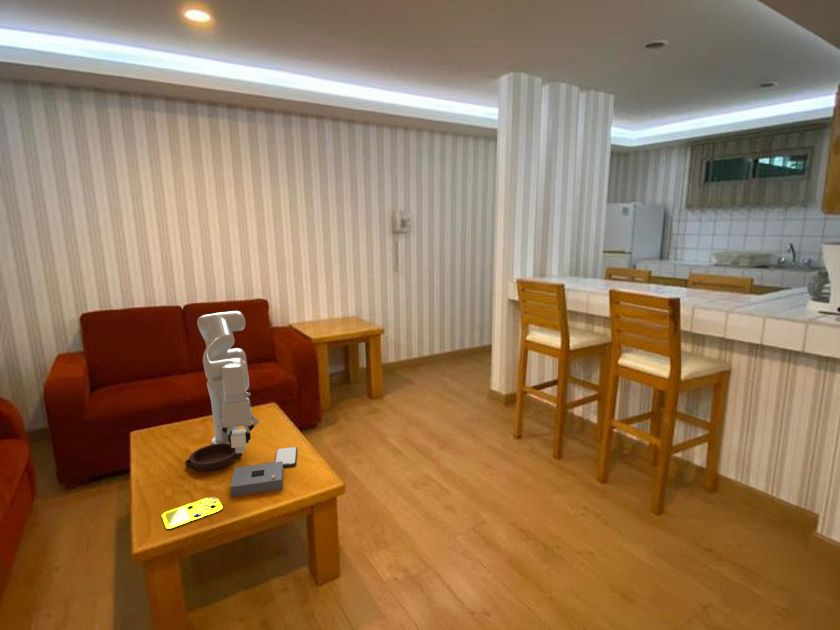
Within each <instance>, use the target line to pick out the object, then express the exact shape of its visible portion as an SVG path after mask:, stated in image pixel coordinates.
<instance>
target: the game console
mask: <svg viewBox="0 0 840 630" xmlns="http://www.w3.org/2000/svg"><path fill="white" fill-rule="evenodd" d="M223 510H224V507H223V505H222V503H221V501H220V499H218V498H217V497H214V496H213V497H212V496H210V497H205V498H203V499H200V500H197V501H194V502H193V501H192V502H191V503H187V504H185V505H181V506H180V507H176V508H173V509H170V510H166V511H165V512H163V513H162V514H161V519H162V521H163V524H164V527H165V530H167V531H172V530H174V529H177V528H179V527H183V526H185V525H187V524H191V523H193V522H196V521H198V520H199V521H200V520H201V519H204V518H206V517H209V516H212V515H215V514H217V513H220V512H222V511H223Z"/></svg>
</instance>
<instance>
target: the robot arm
mask: <svg viewBox="0 0 840 630" xmlns="http://www.w3.org/2000/svg"><path fill="white" fill-rule="evenodd" d="M196 324H197V328H198V331H199V333H200V335H201V336H202V338H203V340H204V342H205V347H206V348H205V350H204V352H203V355H202V364H203V369H204V374H205V377H206V379H207V381H206V385H207V387H206V388H207V391H208V394H209V398H210V403H211V404H210V405H211V414H212V419H213V420H212V422H213V423H212V424H213V430H214V437H212V438H211V445H213V444H221V443H226V444H230V445H231V434H232V431H233V430H238V429H237V428H239V427H244V429H246V443H247V444H249V442H250V441H251V439H252V438H251V437H252V436H251V431H252V430H253V429H254V428H255V427H256V426H257V425H259V424H260V420H259V419H258V418H256V417H255V415H253V409H252V404H251V400H250V397H251V392H250V391H249V392H248V390H249V388H250V377H249V371H248V361H247V355H246V352H245V351H244V350H243V348H241V347H240V348H239V347H235V348H232V347H233V346H234V345H235V337H234V332H238V331H239V332H240V331H243V330H244V329H245V328H246V318H245V316H244V314H243V313H242V312H241V311H240V310H231V311H221V312H215V313H210V314H209V313H208V314H203V315H201V316H199V317H198V318H197V322H196ZM252 422H253V423H252Z"/></svg>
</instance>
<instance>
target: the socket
mask: <svg viewBox="0 0 840 630" xmlns="http://www.w3.org/2000/svg"><path fill="white" fill-rule="evenodd" d="M283 484H284V468H283V461H281V462H275V461H274V462H267V463H266V462H265V463H260V464H252V465H245V466H238V467H234V470H233V475H232V479H231V482H230V497H231V498H234V497H240V496H246V495H252V494H253V495H255V494H259V493H266V492H272V491H273V492H274V491H279V490H283V489H284V488H283V486H284V485H283Z"/></svg>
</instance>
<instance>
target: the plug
mask: <svg viewBox="0 0 840 630" xmlns="http://www.w3.org/2000/svg"><path fill="white" fill-rule="evenodd" d="M247 444H248V443H246V429H245V428H241V429H237V430H233V431H232V434H231V446H232V448H235V450H236V453H242V454H243V453H245V451H246V447H247Z"/></svg>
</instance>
